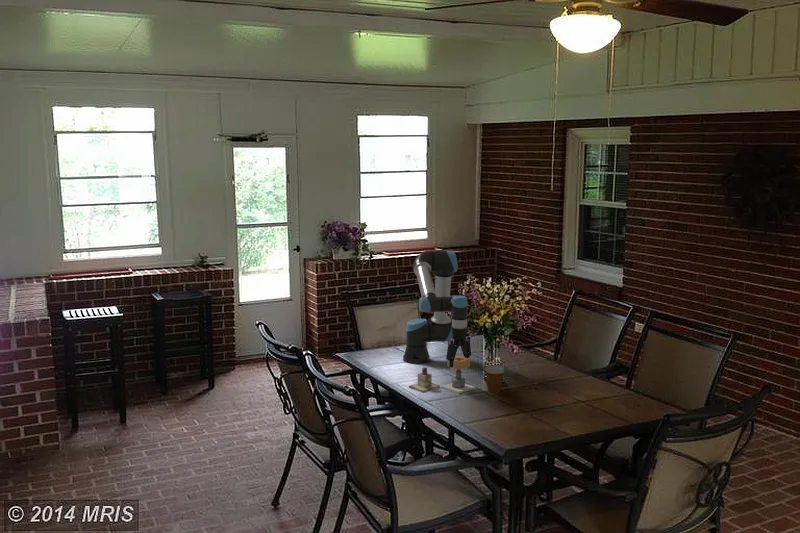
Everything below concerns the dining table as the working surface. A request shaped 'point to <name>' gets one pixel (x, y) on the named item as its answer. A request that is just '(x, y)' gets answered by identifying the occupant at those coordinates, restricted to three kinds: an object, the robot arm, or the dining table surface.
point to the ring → (461, 362)
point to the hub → (458, 384)
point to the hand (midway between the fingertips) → (458, 371)
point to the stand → (424, 382)
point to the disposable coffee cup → (494, 377)
